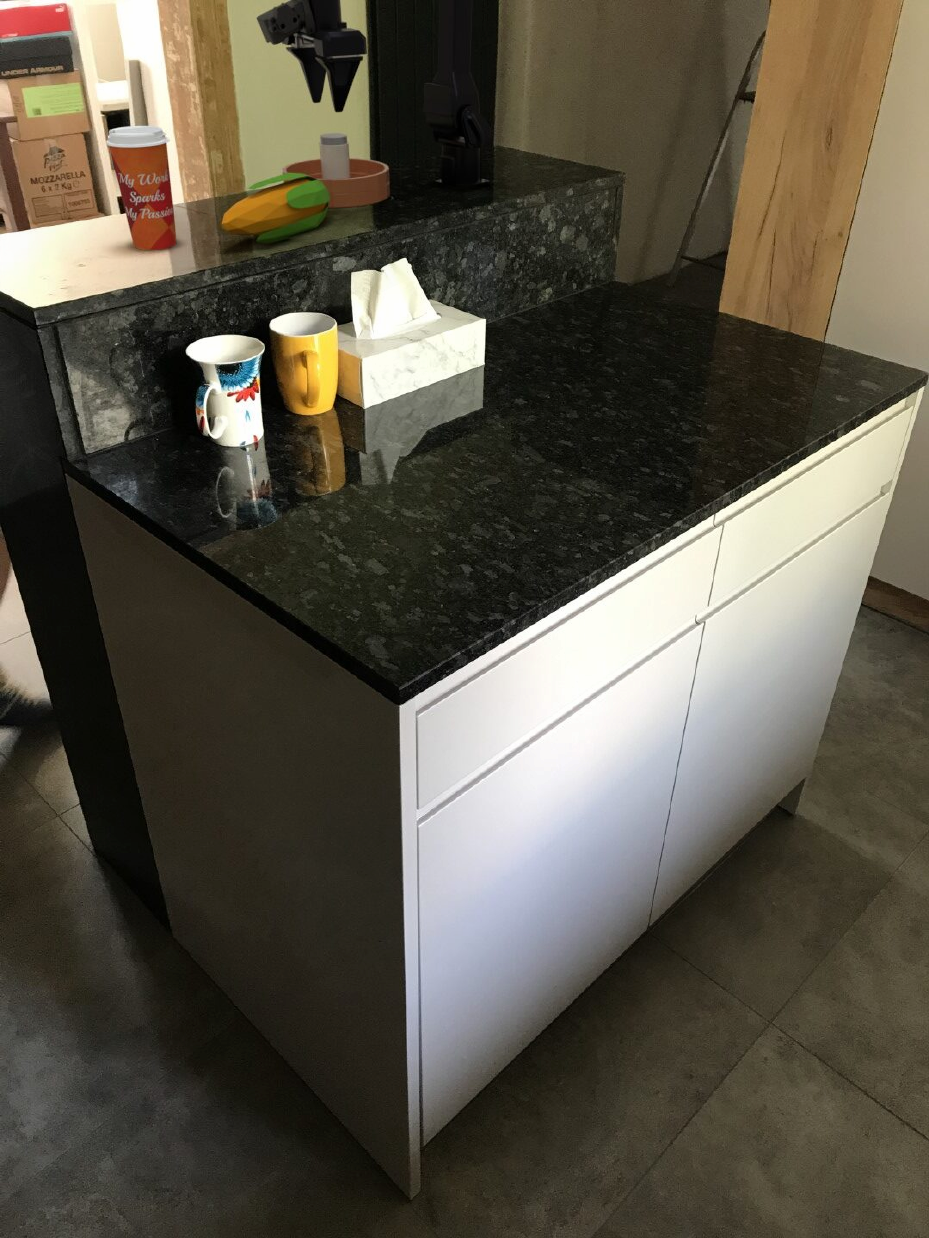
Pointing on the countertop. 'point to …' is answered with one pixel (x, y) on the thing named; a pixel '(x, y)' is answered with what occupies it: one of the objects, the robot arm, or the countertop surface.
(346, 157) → the cylinder
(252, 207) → the corn
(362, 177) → the bowl
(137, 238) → the paper cup
